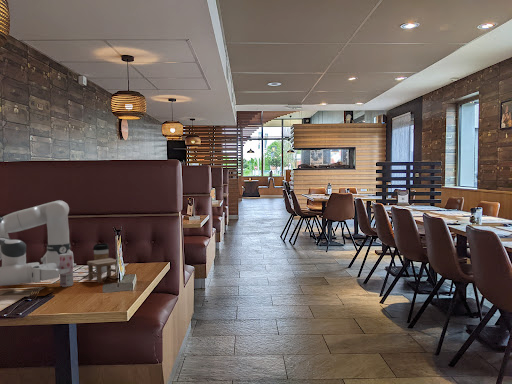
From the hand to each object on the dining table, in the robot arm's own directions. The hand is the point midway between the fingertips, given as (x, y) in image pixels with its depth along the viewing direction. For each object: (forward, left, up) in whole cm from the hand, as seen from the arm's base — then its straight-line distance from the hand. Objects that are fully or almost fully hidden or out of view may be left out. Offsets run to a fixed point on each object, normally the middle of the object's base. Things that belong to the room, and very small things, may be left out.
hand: (68, 268), depth 189 cm
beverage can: (0, -1, -8) cm, 8 cm away
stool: (+1, +17, -8) cm, 19 cm away
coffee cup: (-17, +24, -8) cm, 31 cm away
